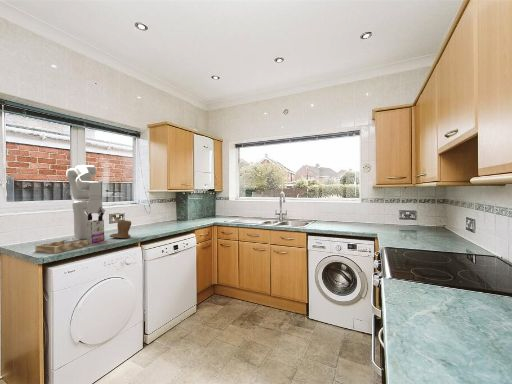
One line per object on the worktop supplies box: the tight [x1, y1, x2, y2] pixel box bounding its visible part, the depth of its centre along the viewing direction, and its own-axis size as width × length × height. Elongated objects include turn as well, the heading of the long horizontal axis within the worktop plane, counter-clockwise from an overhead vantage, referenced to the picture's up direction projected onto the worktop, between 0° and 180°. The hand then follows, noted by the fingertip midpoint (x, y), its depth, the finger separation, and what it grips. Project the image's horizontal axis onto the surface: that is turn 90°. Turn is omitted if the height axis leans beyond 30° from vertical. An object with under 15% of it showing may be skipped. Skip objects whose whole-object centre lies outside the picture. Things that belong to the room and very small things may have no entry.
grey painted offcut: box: [64, 239, 80, 245], centre depth 172 cm, size 3×8×2 cm, turn 156°
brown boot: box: [108, 219, 132, 239], centre depth 203 cm, size 15×12×15 cm
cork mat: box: [88, 239, 108, 246], centre depth 182 cm, size 14×7×1 cm, turn 166°
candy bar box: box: [86, 219, 105, 244], centre depth 183 cm, size 11×5×16 cm, turn 167°
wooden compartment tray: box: [34, 238, 89, 254], centre depth 166 cm, size 22×17×4 cm
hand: (95, 220), depth 183 cm, fingers open, 9 cm apart
